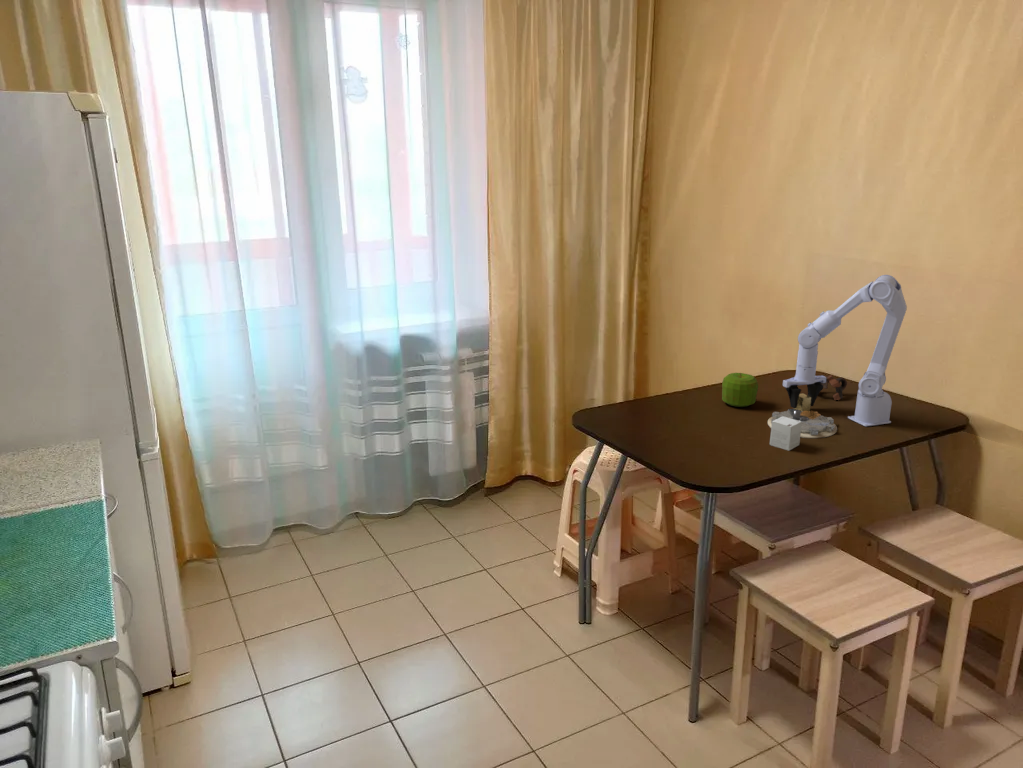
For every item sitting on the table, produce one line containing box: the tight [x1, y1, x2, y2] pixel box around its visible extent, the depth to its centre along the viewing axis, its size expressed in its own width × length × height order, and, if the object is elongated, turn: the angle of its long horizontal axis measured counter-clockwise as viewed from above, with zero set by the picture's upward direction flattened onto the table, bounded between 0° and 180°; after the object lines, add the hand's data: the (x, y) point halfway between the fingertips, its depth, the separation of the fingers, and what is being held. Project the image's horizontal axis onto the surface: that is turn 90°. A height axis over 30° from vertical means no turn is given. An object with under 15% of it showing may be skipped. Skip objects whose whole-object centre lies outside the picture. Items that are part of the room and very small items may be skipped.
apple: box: [721, 372, 759, 408], centre depth 242 cm, size 11×11×11 cm
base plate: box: [767, 416, 838, 439], centre depth 225 cm, size 20×20×1 cm
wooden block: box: [793, 393, 811, 412], centre depth 237 cm, size 4×3×5 cm
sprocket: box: [771, 408, 835, 435], centre depth 224 cm, size 18×18×6 cm
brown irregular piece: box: [821, 374, 848, 401], centre depth 250 cm, size 12×10×8 cm
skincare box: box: [769, 416, 802, 451], centre depth 210 cm, size 6×6×7 cm
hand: (801, 406), depth 237 cm, fingers open, 6 cm apart
